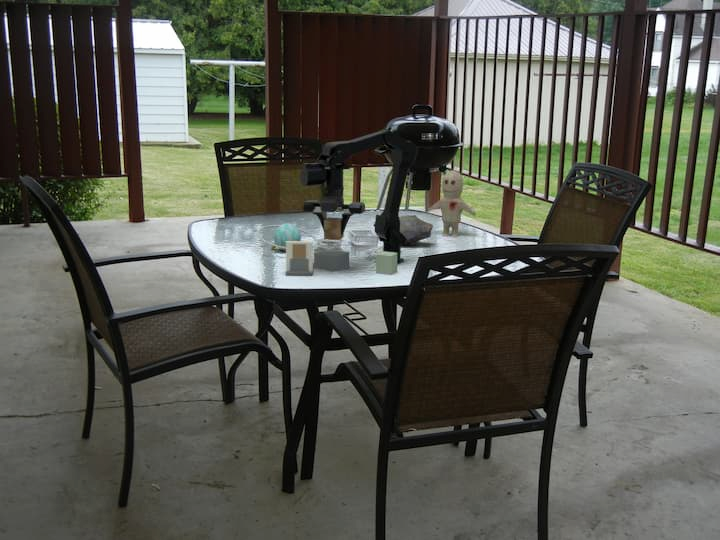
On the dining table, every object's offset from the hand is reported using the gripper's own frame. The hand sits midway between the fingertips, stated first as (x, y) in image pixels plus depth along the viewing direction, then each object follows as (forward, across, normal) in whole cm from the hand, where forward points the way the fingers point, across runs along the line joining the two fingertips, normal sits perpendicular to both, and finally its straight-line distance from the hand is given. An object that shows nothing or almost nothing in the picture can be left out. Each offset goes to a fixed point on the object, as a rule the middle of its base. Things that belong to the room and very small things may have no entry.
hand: (333, 234), depth 240 cm
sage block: (+11, +17, 0) cm, 20 cm away
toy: (+11, +30, +62) cm, 70 cm away
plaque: (+11, -8, -10) cm, 17 cm away
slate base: (+11, -1, +1) cm, 11 cm away
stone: (+11, +17, +42) cm, 47 cm away
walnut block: (+1, 0, 0) cm, 1 cm away
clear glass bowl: (+11, -22, +20) cm, 31 cm away
